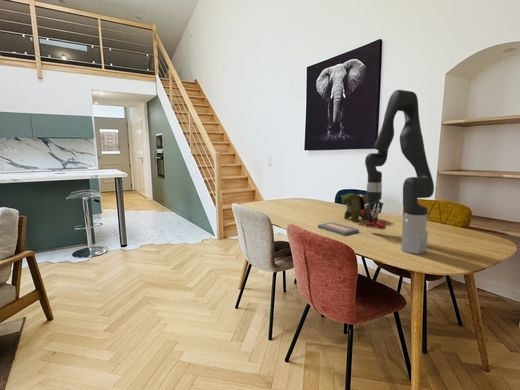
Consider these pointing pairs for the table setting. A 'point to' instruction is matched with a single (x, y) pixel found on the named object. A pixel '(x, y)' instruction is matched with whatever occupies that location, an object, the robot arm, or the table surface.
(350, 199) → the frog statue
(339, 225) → the board
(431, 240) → the table surface
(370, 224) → the toy fire truck
